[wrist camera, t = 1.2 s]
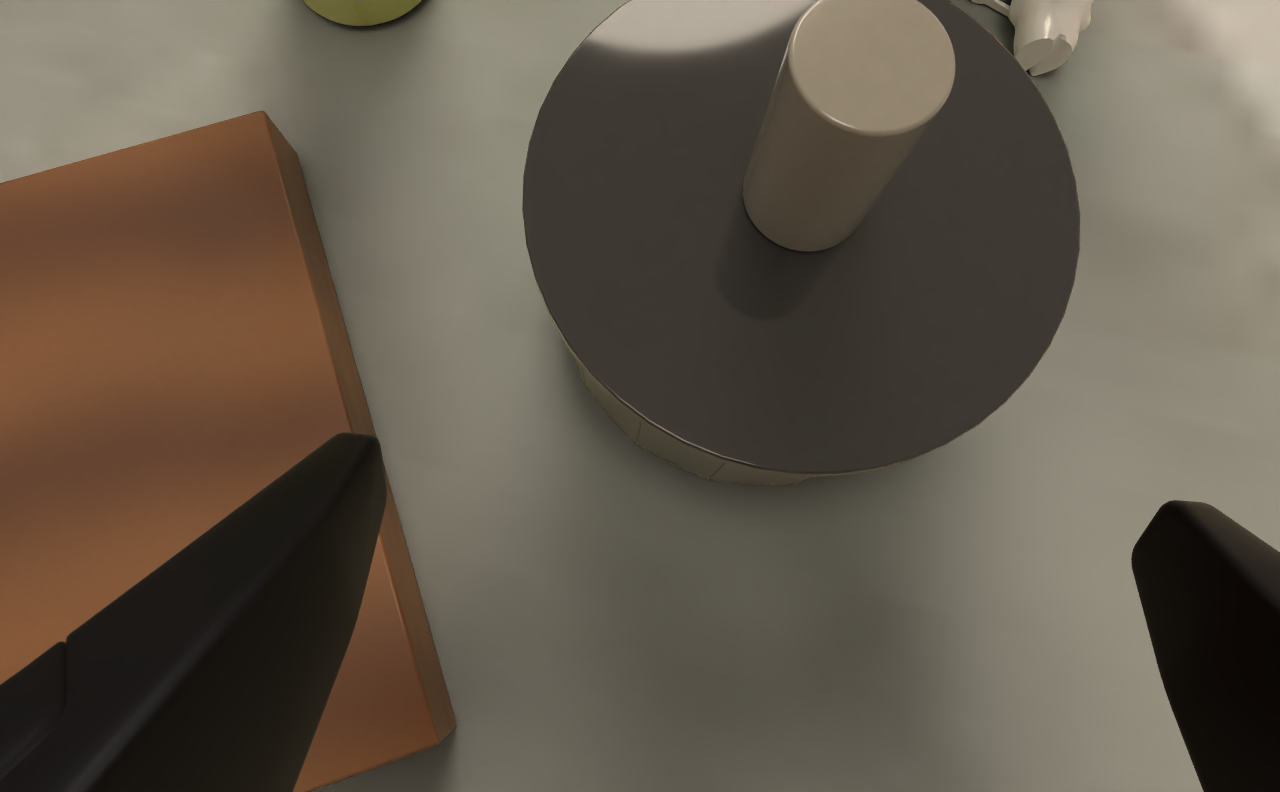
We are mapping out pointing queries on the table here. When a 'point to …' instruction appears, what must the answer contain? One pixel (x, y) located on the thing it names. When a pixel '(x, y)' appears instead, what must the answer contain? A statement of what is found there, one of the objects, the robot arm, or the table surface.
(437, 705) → the board
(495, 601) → the table surface
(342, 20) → the tube
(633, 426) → the jar
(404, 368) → the table surface
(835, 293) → the lid
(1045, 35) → the sitting furry creature
